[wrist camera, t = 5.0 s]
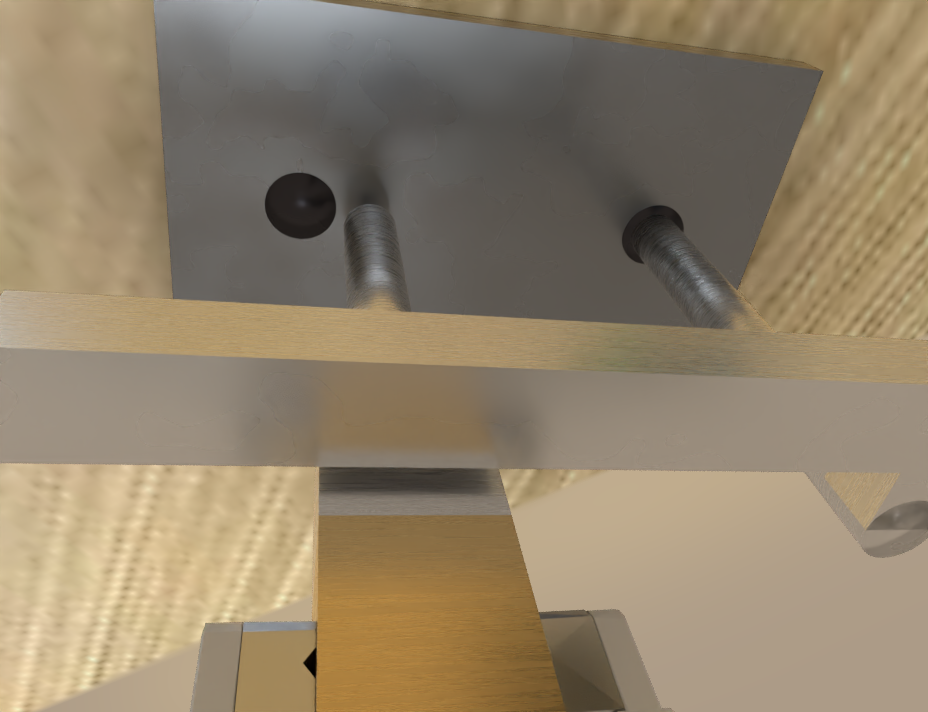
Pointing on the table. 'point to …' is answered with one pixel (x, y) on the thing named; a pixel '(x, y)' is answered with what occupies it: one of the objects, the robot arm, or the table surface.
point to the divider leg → (418, 563)
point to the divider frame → (475, 391)
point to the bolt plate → (458, 155)
